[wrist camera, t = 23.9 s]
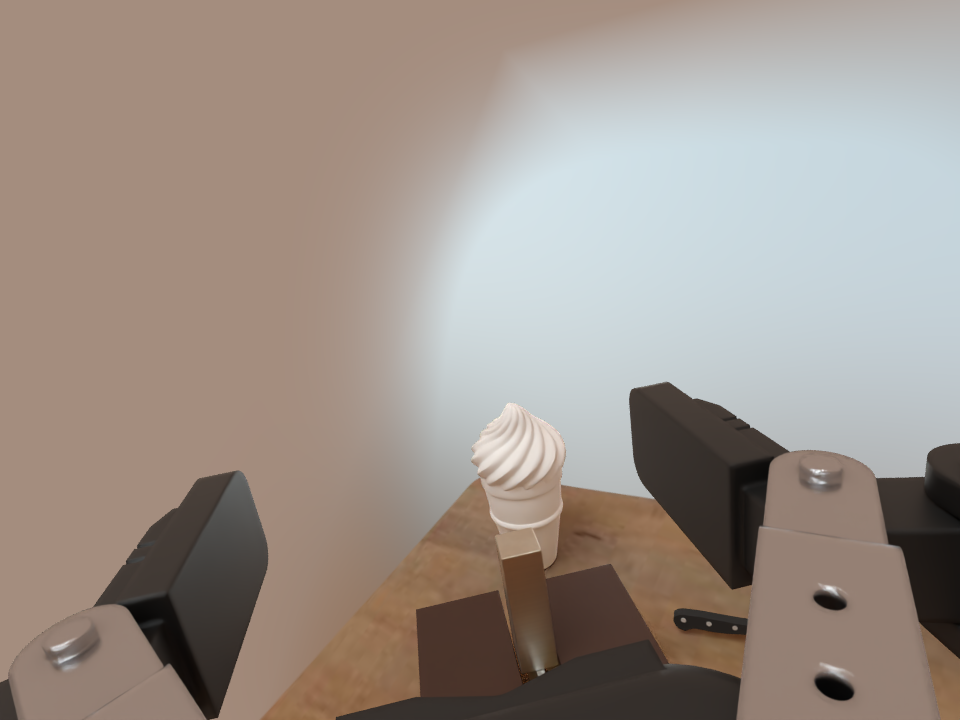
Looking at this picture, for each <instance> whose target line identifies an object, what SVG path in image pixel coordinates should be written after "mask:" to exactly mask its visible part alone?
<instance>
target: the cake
mask: <svg viewBox="0 0 960 720" xmlns="http://www.w3.org/2000/svg"><path fill="white" fill-rule="evenodd" d="M546 584H547V591H548V598H549V605H550V611H551V618H552V625H553V632H554V638H555V645H556V652H557V659H558V665H557V666H559V665H561V664H563V663H565V662H567V661H569V660H571V659H573V658H575V657H579V656H583V655H587V654H591V653H595V652H599V651H603V650H607V649H611V648H615V647H619V646H623V645H627V644H631V643H635V642H639V641H643V640H647V639H649V640H650V642H651V644H652V646H653V647H654V649H655V651H656V653H657V654H658V656H659V658H660V660H661V661H662V663H663V664H669V663H668V661H667V659H666V658H665V656H664V654H663V652H662V651H661V649H660V647H659V646H658V644H657V642H656V640H655V639H654V637H653V635H652V634H651V632H650V630H649V628H648V627H647V625H646V623H645V621H644V620H643V618H642V616H641V615H640V613H639V611H638V609H637V608H636V606H635V604H634V603H633V601H632V599H631V597H630V596H629V594H628V592H627V590H626V589H625V587H624V585H623V584H622V582H621V580H620V578H619V577H618V575H617V573H616V572H615V570H614V568H613V566H612V565H611V564H607V565H603V566H599V567H595V568H591V569H586V570H582V571H578V572H574V573H569V574H565V575H561V576H557V577H552V578H548V579H546ZM416 617H417V637H418V656H419V676H420V695H421V697H461V696H497V695H501V694H504V693H507V692H509V691H511V690H513V689H515V688H517V687H519V686H521V685H523V683H522V679H521V675H520V671H519V668H518V664H517V660H516V656H515V652H514V648H513V645H512V641H511V637H510V633H509V629H508V625H507V621H506V618H505V614H504V610H503V606H502V602H501V598H500V595H499V591H498V590H497V591H493V592H489V593H485V594H480V595H476V596H472V597H468V598H464V599H459V600H455V601H451V602H447V603H442V604H438V605H434V606H430V607H425V608H421V609H417V610H416ZM557 666H553V667H549V668H547V671H550V670H552V669H554V668H556V667H557Z"/></svg>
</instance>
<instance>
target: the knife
mask: <svg viewBox="0 0 960 720" xmlns="http://www.w3.org/2000/svg"><path fill="white" fill-rule="evenodd" d="M674 622H675V624H676V626H677V627H678V628H679V629H682V630H685V631H686V630H688V629H701V630H706V631H711V632H717V633H726V634H741V635H746V633H747V625H748V619H746V618H739V617H733V616H728V615H722V614H717V613H711V612H706V611H700V610H692V609H684V608H682V609H677V610H675V611H674Z"/></svg>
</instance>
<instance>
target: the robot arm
mask: <svg viewBox="0 0 960 720" xmlns="http://www.w3.org/2000/svg"><path fill="white" fill-rule="evenodd" d="M629 405H630V418H631V431H632V445H633V457H634V463H635V467H636V470H637V473H638V476H639V478H640V480H641V482H642V483H643V485H644V486H645V487H646V489H647V490H648V491H649V492H650V493H651V494H652V496H653V497H654V498H655V499H656V500H657V502H658V503H659V504H660V505H661V506H662V507H663V509H664V510H665V511H666V512H667V513H668V515H669V516H670V517H671V518H672V519H673V520H674V522H675V523H676V524H677V525H678V526H679V528H680V529H681V530H682V531H683V532H684V534H685V535H686V536H687V537H688V538H689V539H690V541H691V542H692V543H693V544H694V545H695V547H696V548H697V549H698V550H699V551H700V552H701V554H702V555H703V556H704V557H705V558H706V560H707V561H708V562H709V563H710V564H711V565H712V567H713V568H714V569H715V570H716V571H717V573H718V574H719V575H720V576H721V577H722V578H723V580H724V581H725V582H726V583H727V584H728V586H729V587H730V588H731V589H736V588H741V587H745V586H749V585H752V590H751V599H750V607H749V616H748V625H747V633H746V642H745V650H744V659H743V667H742V676H741V679H740V678H738V677H735V676H733V675H730V674H726V673H723V672H719V671H716V670H712V669H707V668H702V667H697V666H691V665H680V664H663V663H662V661H661V660H660V658H659V656H658V654H657V653H656V651H655V649H654V647H653V646H652V644H651V642H650V640H649V639H647V640H643V641H639V642H635V643H631V644H627V645H623V646H619V647H615V648H611V649H607V650H603V651H599V652H595V653H591V654H587V655H583V656H579V657H575V658H573V659H571V660H569V661H567V662H565V663H563V664H561V665H559V666H557V667H556V668H554V669H552V670H550V671H548V672H546V673H544V674H542V675H540V676H538V677H536V678H534V679H532V680H530V681H528V682H526V683H525V684H523V685H521V686H519V687H517V688H515V689H513V690H511V691H509V692H507V693H504V694H501V695H497V696H461V697H415V698H411V699H407V700H403V701H399V702H395V703H391V704H387V705H383V706H379V707H375V708H371V709H367V710H363V711H359V712H355V713H351V714H347V715H343V716H339V717H336V720H941V719H940V714H939V710H938V705H937V701H936V696H935V692H934V687H933V683H932V678H931V674H930V670H929V665H928V661H927V656H926V652H925V647H924V643H923V638H922V634H921V629H920V625H919V622H920V623H921V624H922V625H923V626H924V627H925V628H926V629H927V630H928V631H929V632H930V633H931V634H932V635H934V636H935V637H936V638H937V639H938V640H939V641H940V642H941V643H943V644H944V645H945V646H946V647H947V648H948V649H949V650H950V651H951V652H953V653H954V654H955V655H956V656H957V657H958V658H959V659H960V443H957V444H948V445H943V446H939V447H937V448H934V449H933V450H931V451H930V452H929V453H928V456H927V463H926V472H925V477H909V478H876V477H875V475H874V473H873V472H872V471H871V470H870V469H869V468H868V467H867V466H866V465H864V464H863V463H861V462H859V461H857V460H855V459H853V458H850V457H847V456H844V455H840V454H837V453H832V452H826V451H816V450H802V451H794V452H789V451H788V450H786V449H785V448H783V447H782V446H780V445H779V444H777V443H776V442H774V441H773V440H771V439H770V438H768V437H767V436H765V435H764V434H762V433H760V432H759V431H758V430H756V429H754V428H750V425H749V424H746V422H744V421H743V420H741V419H737V418H736V416H735V415H733V414H732V413H730V412H729V411H727V410H726V409H724V408H723V407H721V406H719V405H716V404H713V403H710V402H707V401H703V400H700V399H692V398H690V397H689V396H688V395H686V394H685V393H683V392H682V391H680V390H679V389H677V388H676V387H675V386H673V385H672V384H671V383H669V382H663V383H658V384H654V385H649V386H644V387H639V388H634V389H632V390H631V392H630V398H629ZM267 566H268V548H267V542H266V538H265V534H264V531H263V528H262V525H261V522H260V519H259V516H258V513H257V510H256V507H255V503H254V500H253V497H252V494H251V491H250V488H249V486H248V482H247V480H246V478H245V476H244V474H243V473H242V472H241V471H233V472H229V473H224V474H218V475H214V476H209V477H204V478H199V479H198V480H197V481H196V482H195V484H194V485H193V487H192V488H191V490H190V491H189V493H188V494H187V496H186V497H185V499H184V500H183V502H182V503H181V504H180V506H179V507H178V508H176V509H172V510H171V511H170V512H169V513H167V514H166V515H165V516H164V517H162V518H161V519H160V520H159V521H157V522H156V523H155V524H154V525H152V526H151V527H150V528H149V530H148V531H147V532H146V534H145V535H144V537H143V538H142V539H141V541H140V542H139V544H138V545H137V549H134V551H133V552H132V553H131V555H130V556H129V558H128V559H127V560H126V565H123V566H122V567H121V569H120V570H119V572H118V573H117V574H116V576H115V577H114V579H113V580H112V581H111V583H110V584H109V586H108V587H107V588H106V590H105V591H104V592H103V594H102V595H101V597H100V598H99V599H98V601H97V602H96V604H95V605H94V607H92V608H89V609H86V610H83V611H81V612H78V613H76V614H73V615H71V616H69V617H67V618H65V619H63V620H61V621H60V622H58V623H56V624H54V625H53V626H51V627H50V628H48V629H47V630H45V631H44V632H42V633H41V634H40V635H38V636H37V637H36V638H34V639H33V640H32V641H31V642H30V643H29V644H28V645H27V646H26V647H25V648H24V649H23V650H22V651H21V652H20V653H19V654H18V656H17V657H16V658H15V660H14V661H13V663H12V665H11V667H10V669H9V673H8V676H9V677H8V679H7V680H5V681H3V682H1V683H0V720H210V719H214V718H218V716H219V713H220V710H221V706H222V704H223V701H224V698H225V695H226V692H227V689H228V686H229V683H230V680H231V676H232V673H233V670H234V667H235V664H236V661H237V658H238V655H239V652H240V649H241V646H242V643H243V640H244V637H245V634H246V631H247V628H248V625H249V622H250V619H251V616H252V613H253V610H254V607H255V604H256V601H257V598H258V595H259V592H260V589H261V586H262V583H263V580H264V577H265V574H266V570H267Z"/></svg>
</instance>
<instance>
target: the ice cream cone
mask: <svg viewBox="0 0 960 720" xmlns="http://www.w3.org/2000/svg"><path fill="white" fill-rule="evenodd" d="M472 451H473V452H474V453H475V455H474V456H473V457H472V459H471V462H472V463H473V464H474V465H476V466H478V467H479V469H478V472H477V473H478V475H479V476H480V477H481V484H482V487H483V488H484V489H485V491H486V495H487V498H488V502H489V505H490V515H491V518H492V519H493V521H494V522H495V523H496V525H497V528H498V530H499V532H500V534H503V533H508V532H512V531H517V530H521V529H525V528H530V527H532V528H533V531H534V533H535V536H536V538H537V541H538V543H539V546H540V548H541V551H542V557H543V564H544V569H546V568H547V567H549V566H550V565H552V564H553V562H554V561H555V559H556V555H557V545H558V534H559V524H560V514H561V512H562V508H563V502H562V499H561V482H560V480H561V477H562V467H563V464H564V461H565V456H566V449H565V443H564V441H563V439H562V437H561V435H560V434H559V433H558V431H557V430H556V429H555V428H553V427H552V426H551V425H550V424H548V423H546V422H545V421H543V420H541V419H539V418H537V417H535V416H533V415H531V414H530V413H529V412H528V411H527V410H525V409H524V408H522V407H521V406H519V405H517V404H514V403H507V405H506V407H505V408H504V410H503V412H502V414H501V415H500V417H499V418H496V419H494V420H493V422H492V423H489V424H487V429H485V430H483V431H482V432H481V433H480V440H478V441H477V442H476V443H475V444H474V445H473V446H472Z"/></svg>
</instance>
